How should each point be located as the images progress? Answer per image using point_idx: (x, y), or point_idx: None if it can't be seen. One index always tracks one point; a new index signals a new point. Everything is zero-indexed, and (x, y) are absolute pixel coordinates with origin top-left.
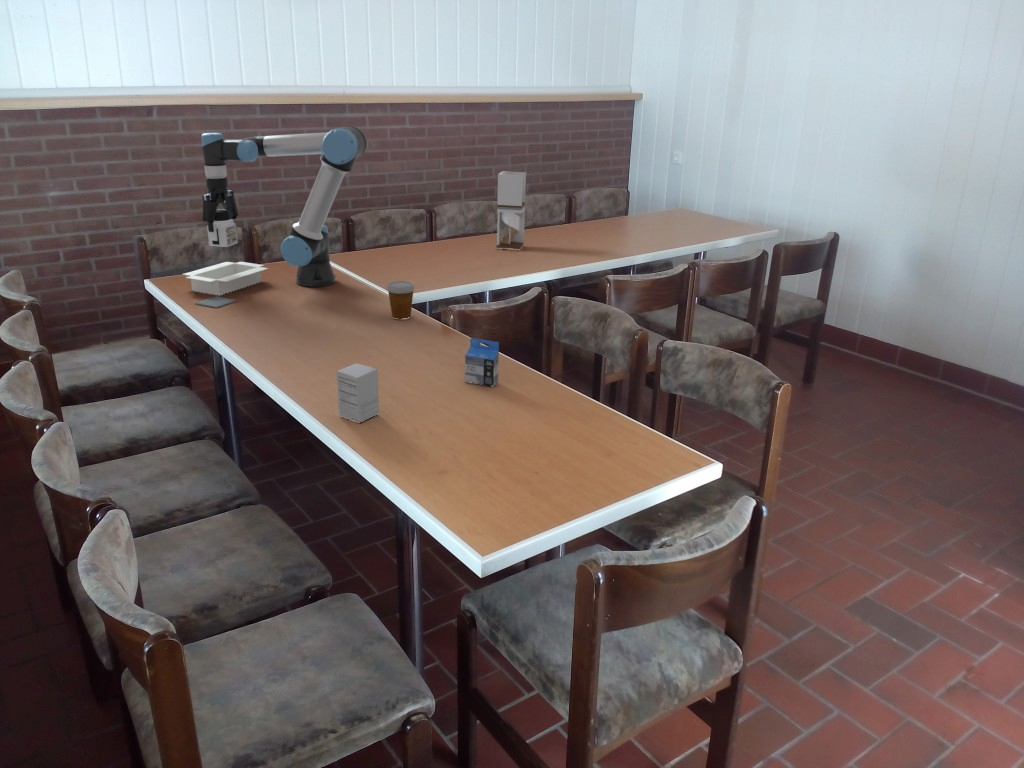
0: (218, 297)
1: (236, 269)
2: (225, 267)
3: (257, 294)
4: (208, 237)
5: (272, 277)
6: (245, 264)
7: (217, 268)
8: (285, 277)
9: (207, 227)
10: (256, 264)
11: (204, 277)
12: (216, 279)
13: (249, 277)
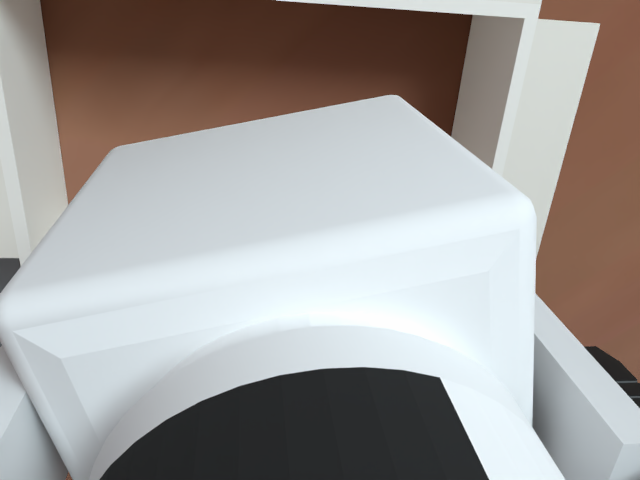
0: (7, 261)
1: (499, 31)
2: (411, 9)
3: None
4: (75, 196)
5: (559, 210)
6: (517, 130)
7: (315, 2)
8: (578, 270)
9: (5, 295)
10: (541, 201)
11: (5, 130)
12: (29, 250)
13: None
